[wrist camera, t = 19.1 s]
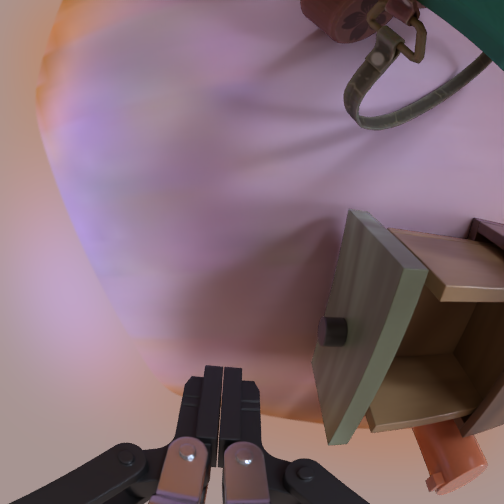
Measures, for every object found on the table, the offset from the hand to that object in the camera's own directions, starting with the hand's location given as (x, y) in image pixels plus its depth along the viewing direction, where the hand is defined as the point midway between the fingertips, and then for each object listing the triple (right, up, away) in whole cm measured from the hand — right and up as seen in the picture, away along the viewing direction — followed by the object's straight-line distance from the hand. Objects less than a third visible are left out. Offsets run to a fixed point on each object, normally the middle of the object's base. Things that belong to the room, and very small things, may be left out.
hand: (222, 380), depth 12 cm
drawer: (+12, +2, +7) cm, 14 cm away
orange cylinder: (+18, -8, +13) cm, 24 cm away
